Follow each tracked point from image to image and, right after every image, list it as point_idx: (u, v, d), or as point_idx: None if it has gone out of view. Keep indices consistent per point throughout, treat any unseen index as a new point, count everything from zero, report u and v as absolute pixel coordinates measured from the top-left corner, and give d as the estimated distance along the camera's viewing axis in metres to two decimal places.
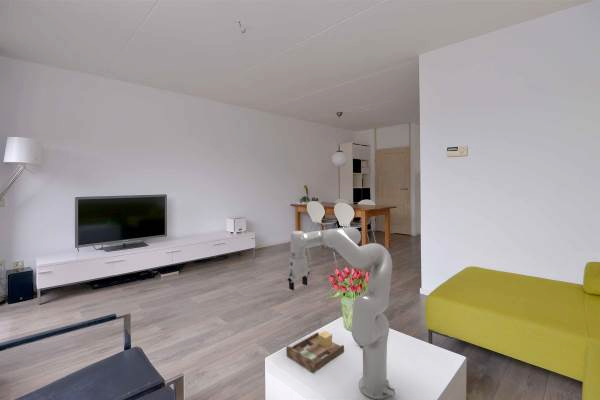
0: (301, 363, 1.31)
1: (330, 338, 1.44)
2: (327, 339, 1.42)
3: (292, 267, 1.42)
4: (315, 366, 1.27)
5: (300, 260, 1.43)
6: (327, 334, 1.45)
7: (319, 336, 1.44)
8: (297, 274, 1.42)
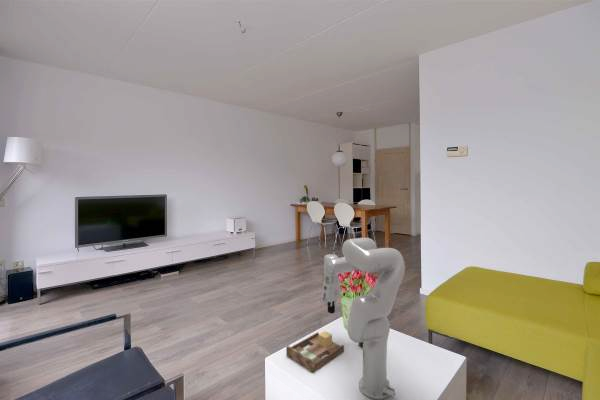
0: (301, 363, 1.31)
1: (330, 338, 1.44)
2: (327, 339, 1.42)
3: (326, 291, 1.43)
4: (315, 366, 1.27)
5: (334, 284, 1.44)
6: (327, 334, 1.45)
7: (319, 336, 1.44)
8: (331, 298, 1.43)
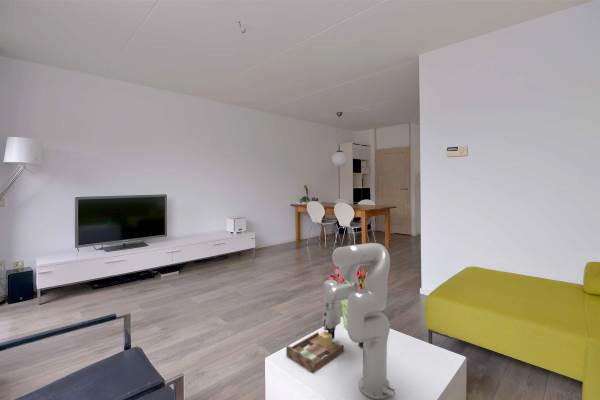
0: (301, 363, 1.31)
1: (330, 338, 1.44)
2: (327, 339, 1.42)
3: (326, 317, 1.44)
4: (315, 366, 1.27)
5: (334, 310, 1.45)
6: (327, 334, 1.45)
7: (319, 336, 1.44)
8: (331, 324, 1.44)
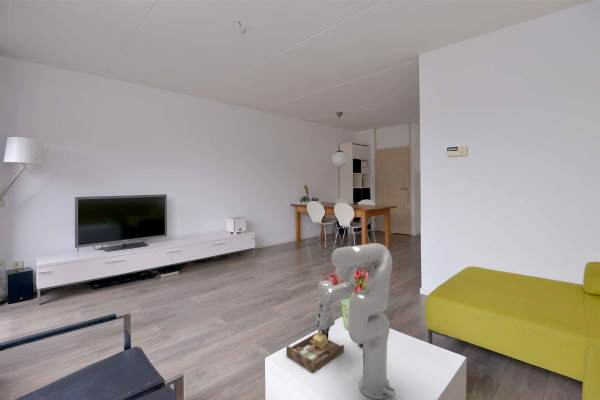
0: (301, 363, 1.31)
1: (325, 339, 1.41)
2: (322, 341, 1.40)
3: (320, 319, 1.41)
4: (315, 366, 1.27)
5: (328, 311, 1.43)
6: (321, 335, 1.42)
7: (314, 339, 1.42)
8: (325, 326, 1.41)
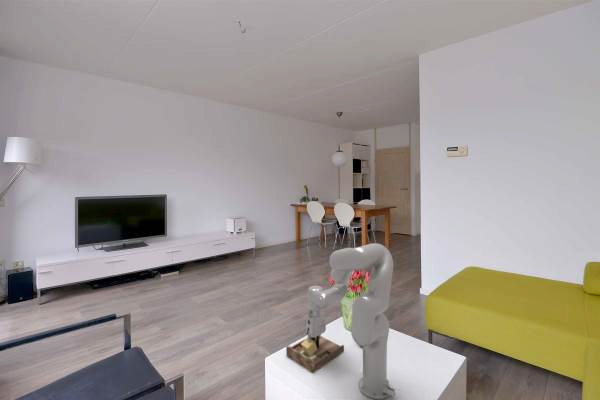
0: (301, 363, 1.31)
1: (313, 345, 1.36)
2: (310, 348, 1.34)
3: (310, 326, 1.35)
4: (315, 366, 1.27)
5: (318, 318, 1.37)
6: (310, 341, 1.37)
7: (302, 345, 1.37)
8: (315, 333, 1.36)
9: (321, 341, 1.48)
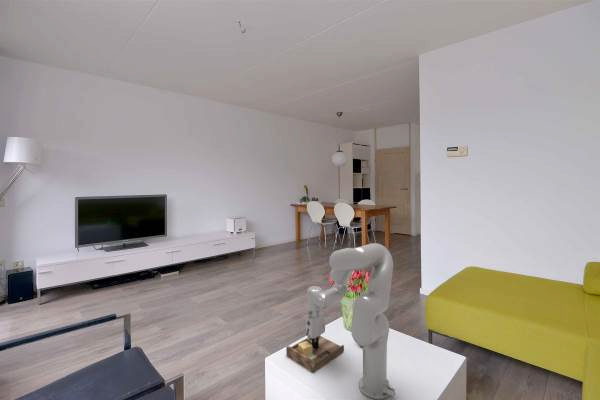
0: (301, 363, 1.31)
1: (310, 349, 1.34)
2: (306, 350, 1.33)
3: (309, 327, 1.35)
4: (315, 366, 1.27)
5: (317, 319, 1.36)
6: (307, 344, 1.36)
7: (298, 346, 1.36)
8: (315, 334, 1.35)
9: (321, 341, 1.48)
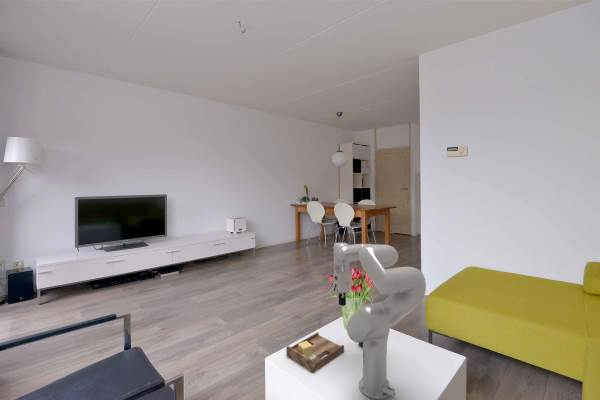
0: (301, 363, 1.31)
1: (310, 349, 1.34)
2: (306, 350, 1.33)
3: (337, 281, 1.34)
4: (315, 366, 1.27)
5: (345, 274, 1.35)
6: (307, 344, 1.36)
7: (298, 346, 1.36)
8: (342, 289, 1.34)
9: (321, 341, 1.48)
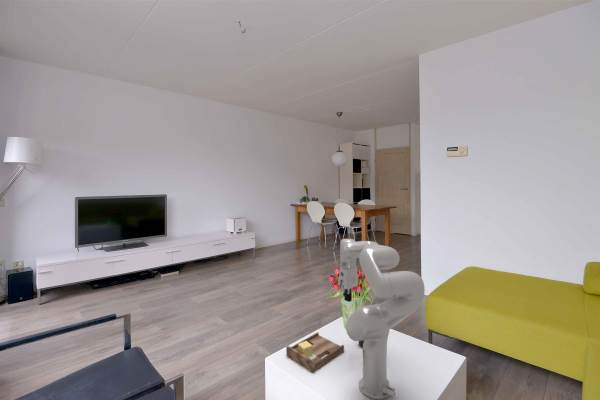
0: (301, 363, 1.31)
1: (310, 349, 1.34)
2: (306, 350, 1.33)
3: (343, 277, 1.34)
4: (315, 366, 1.27)
5: (351, 270, 1.35)
6: (307, 344, 1.36)
7: (298, 346, 1.36)
8: (348, 285, 1.34)
9: (321, 341, 1.48)
